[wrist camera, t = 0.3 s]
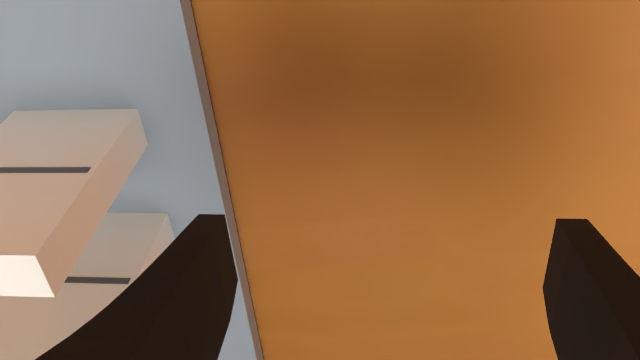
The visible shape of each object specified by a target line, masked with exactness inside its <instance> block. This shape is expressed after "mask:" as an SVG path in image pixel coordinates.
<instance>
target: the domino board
mask: <svg viewBox="0 0 640 360" xmlns="http://www.w3.org/2000/svg"><path fill="white" fill-rule="evenodd" d="M89 109H138V110H139V114H140V118H141V121H142V125H143V128H144V132H145V135H146V139H147V142H148V146H147V148H146V149H145V151H144V153H143V154H142V156H141V158H140V159H139V161H138V162H137V164H136V166H135V167H134V169H133V171H132V172H131V174H130V176H129V177H128V179H127V180H126V182H125V184H124V185H123V187H122V189H121V190H120V192H119V193H118V195H117V197H116V198H115V200H114V202H113V203H112V205H111V207H110V208H109V210H108V211H107V213H168V216H169V219H170V223H171V226H172V230H173V233H174V237H175V238H176V237H177V236H178V235H179V234H180V233H181V232H182V231H183V230H184V229H185V228H186V227H187V226H188V225H189V224H190V222H191V221H192V220H193V219H194V218H195V217H196V216H197V215H198V214H225V218H226V223H227V228H228V233H229V238H230V243H231V247H232V252H233V257H234V262H235V267H236V272H237V277H238V283H237V289H236V294H235V300H234V305H233V310H232V315H231V320H230V323H229V326H228V329H227V332H226V335H225V338H224V342H223V345H222V348H221V351H220V354H219V357H218V360H264V359H263V354H262V349H261V345H260V340H259V335H258V330H257V325H256V320H255V315H254V310H253V305H252V300H251V296H250V291H249V286H248V281H247V276H246V271H245V266H244V261H243V256H242V251H241V247H240V242H239V237H238V232H237V227H236V222H235V217H234V212H233V207H232V202H231V198H230V193H229V188H228V183H227V178H226V173H225V168H224V163H223V158H222V153H221V149H220V144H219V139H218V134H217V129H216V124H215V119H214V114H213V109H212V104H211V100H210V95H209V90H208V85H207V80H206V75H205V70H204V65H203V60H202V55H201V51H200V46H199V41H198V36H197V31H196V26H195V21H194V16H193V11H192V6H191V2H190V0H0V124H1V123H2V122H3V121H4V120H5V119H6V118H7V117H8V116H9V115H10V114H11V113H12V112H13V111H27V110H89Z"/></svg>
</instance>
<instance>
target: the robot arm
mask: <svg viewBox="0 0 640 360" xmlns="http://www.w3.org/2000/svg"><path fill="white" fill-rule="evenodd" d="M237 283H238V277H237V272H236V267H235V262H234V257H233V252H232V247H231V243H230V238H229V233H228V228H227V223H226V218H225V214H198V215H197V216H196V217H195V218H194V219H193V220H192V221H191V222H190V224H189V225H188V226H187V227H186V228H185V229H184V230H183V231H182V232H181V233H180V234H179V235H178V236H177V237H176V238H175V240H174V241H173V242H172V243H171V244H170V245H169V246H168V247H167V248H166V249H165V250H164V251H163V252H162V253H161V254H160V255H159V256H158V257H157V259H156V260H155V261H154V262H153V263H152V264H151V265H150V266H149V267H148V268H147V269H146V270H145V271H144V272H143V273H142V274H141V275H140V276H139V277H138V278H137V279H136V280H135V281H134V282H133V283H131V284H130V285H129V286H128V287H127V288H126V289H125V290H124V291H123V292H122V293H121V294H120V295H118V296H117V297H116V298H115V299H114V300H113V301H112V302H111V303H110V304H109V305H108V306H106V307H105V308H104V309H103V310H102V311H100V312H99V313H98V314H97V315H96V316H94V317H93V318H92V319H91V320H89V321H88V322H87V323H85V324H84V325H83V326H82V327H80V328H79V329H78V330H76V331H75V332H74V333H72V334H71V335H70V336H68V337H67V338H66V339H64V340H63V341H61V342H60V343H58V344H57V345H55V346H54V347H52V348H51V349H49V350H48V351H47V352H45V353H44V354H42V355H41V356H39V357H38V358H36V359H35V360H218V357H219V354H220V351H221V348H222V345H223V342H224V338H225V335H226V332H227V329H228V326H229V323H230V320H231V315H232V310H233V305H234V300H235V294H236V289H237ZM543 293H544V299H545V306H546V312H547V318H548V324H549V329H550V333H551V337H552V340H553V344H554V347H555V351H556V354H557V357H558V360H640V277H639V276H638V275H637V274H636V273H635V272H634V271H633V269H632V268H631V267H630V266H629V265H628V264H627V263H626V262H625V261H624V260H623V259H622V257H621V256H620V255H619V254H618V253H617V252H616V251H615V250H614V249H613V247H612V246H611V245H610V244H609V243H608V242H607V241H606V240H605V238H604V237H603V236H602V235H601V234H600V233H599V232H598V231H597V229H596V228H595V227H594V226H593V225H592V224H591V223H590V222H589V221H588V220H587V219H556V224H555V229H554V234H553V239H552V244H551V249H550V254H549V259H548V264H547V269H546V274H545V279H544V284H543Z"/></svg>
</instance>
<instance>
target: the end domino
mask: <svg viewBox="0 0 640 360" xmlns="http://www.w3.org/2000/svg"><path fill="white" fill-rule="evenodd" d="M147 146H148V142H147V139H146V135H145V132H144V128H143V125H142V121H141V118H140V114H139V110H138V109H89V110H27V111H13V112H12V113H11V114H10V115H9V116H8V117H7V118H6V119H5V120H4V121H3V122H2V123H1V124H0V296H22V297H55V296H56V295H57V293H58V291H59V290H60V288H61V287H62V285H63V283H64V282H65V280H66V278H67V277H68V275H69V273H70V272H71V270H72V269H73V267H74V265H75V264H76V262H77V260H78V259H79V257H80V256H81V254H82V252H83V251H84V249H85V247H86V246H87V244H88V242H89V241H90V239H91V238H92V236H93V234H94V233H95V231H96V229H97V228H98V226H99V224H100V223H101V221H102V220H103V218H104V216H105V215H106V213H107V211H108V210H109V208H110V207H111V205H112V203H113V202H114V200H115V198H116V197H117V195H118V193H119V192H120V190H121V189H122V187H123V185H124V184H125V182H126V180H127V179H128V177H129V176H130V174H131V172H132V171H133V169H134V167H135V166H136V164H137V162H138V161H139V159H140V158H141V156H142V154H143V153H144V151H145V149H146V148H147Z"/></svg>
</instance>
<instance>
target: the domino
mask: <svg viewBox="0 0 640 360" xmlns="http://www.w3.org/2000/svg"><path fill="white" fill-rule="evenodd" d="M174 240H175V237H174V233H173V230H172V226H171V223H170V219H169V216H168V213H106V215H105V216H104V218H103V220H102V221H101V223H100V224H99V226H98V228H97V229H96V231H95V233H94V234H93V236H92V238H91V239H90V241H89V242H88V244H87V246H86V247H85V249H84V251H83V252H82V254H81V256H80V257H79V259H78V260H77V262H76V264H75V265H74V267H73V269H72V270H71V272H70V273H69V275H68V277H67V278H66V280H65V282H64V283H63V285H62V287H61V288H60V290H59V291H58V293H57V295H56V296H55V297H22V296H0V360H35V359H36V358H38V357H39V356H41V355H42V354H44V353H45V352H47V351H48V350H49V349H51V348H52V347H54V346H55V345H57V344H58V343H60V342H61V341H63V340H64V339H66V338H67V337H68V336H70V335H71V334H72V333H74V332H75V331H76V330H78V329H79V328H80V327H82V326H83V325H84V324H85V323H87V322H88V321H89V320H91V319H92V318H93V317H94V316H96V315H97V314H98V313H99V312H100V311H102V310H103V309H104V308H105V307H106V306H108V305H109V304H110V303H111V302H112V301H113V300H114V299H115V298H116V297H117V296H118V295H120V294H121V293H122V292H123V291H124V290H125V289H126V288H127V287H128V286H129V285H130V284H131V283H133V282H134V281H135V280H136V279H137V278H138V277H139V276H140V275H141V274H142V273H143V272H144V271H145V270H146V269H147V268H148V267H149V266H150V265H151V264H152V263H153V262H154V261H155V260H156V259H157V257H158V256H159V255H160V254H161V253H162V252H163V251H164V250H165V249H166V248H167V247H168V246H169V245H170V244H171V243H172V242H173V241H174Z"/></svg>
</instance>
